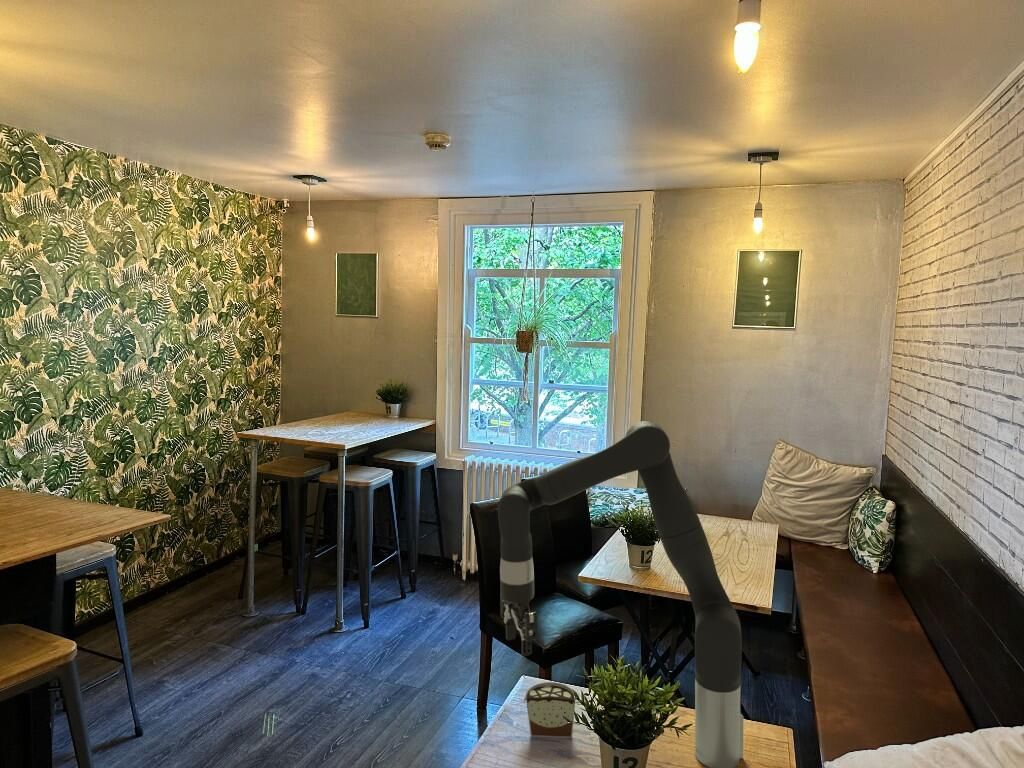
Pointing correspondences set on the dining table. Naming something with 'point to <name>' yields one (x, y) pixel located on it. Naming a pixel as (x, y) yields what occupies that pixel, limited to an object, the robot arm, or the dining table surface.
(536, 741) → the dining table surface
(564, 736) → the food container
